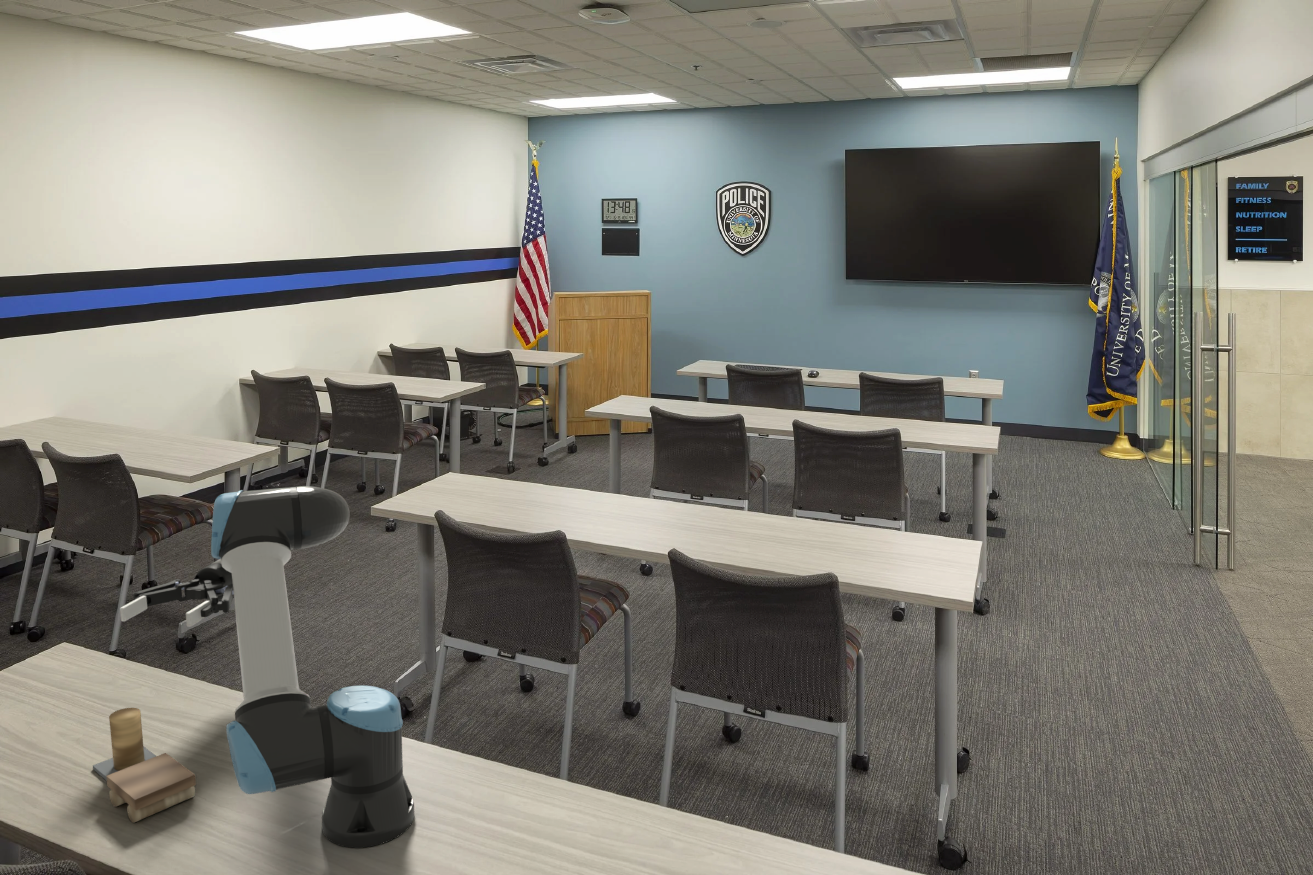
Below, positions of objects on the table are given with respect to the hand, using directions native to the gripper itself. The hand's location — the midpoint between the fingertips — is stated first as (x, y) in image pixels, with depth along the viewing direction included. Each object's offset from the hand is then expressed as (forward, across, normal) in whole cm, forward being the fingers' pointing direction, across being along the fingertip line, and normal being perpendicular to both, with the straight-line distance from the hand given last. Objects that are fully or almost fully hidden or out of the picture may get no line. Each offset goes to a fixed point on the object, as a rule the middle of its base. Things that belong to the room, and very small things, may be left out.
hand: (154, 617), depth 176 cm
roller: (+10, 0, -25) cm, 27 cm away
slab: (+19, -11, -26) cm, 34 cm away
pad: (+10, 0, -26) cm, 28 cm away
